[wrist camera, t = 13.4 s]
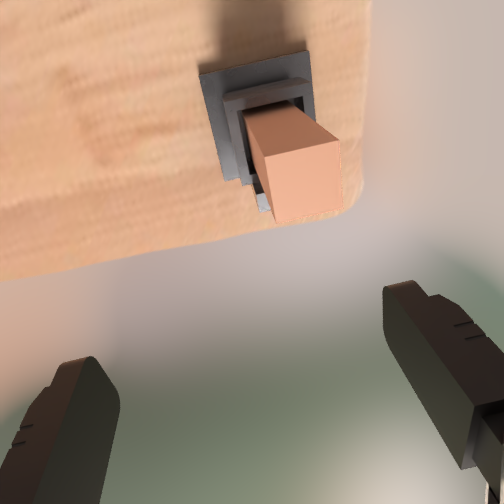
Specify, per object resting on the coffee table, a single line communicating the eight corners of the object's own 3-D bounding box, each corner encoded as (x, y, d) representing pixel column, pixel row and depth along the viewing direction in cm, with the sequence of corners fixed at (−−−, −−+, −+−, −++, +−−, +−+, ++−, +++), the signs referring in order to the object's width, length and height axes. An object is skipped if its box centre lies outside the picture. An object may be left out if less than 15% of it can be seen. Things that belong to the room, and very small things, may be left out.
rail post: (241, 110, 30) (264, 157, 19) (286, 99, 30) (339, 140, 19) (250, 155, 33) (276, 223, 21) (292, 145, 33) (343, 208, 21)
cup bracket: (198, 74, 32) (196, 88, 24) (306, 50, 32) (342, 55, 24) (224, 178, 38) (229, 219, 29) (316, 157, 38) (349, 192, 29)
